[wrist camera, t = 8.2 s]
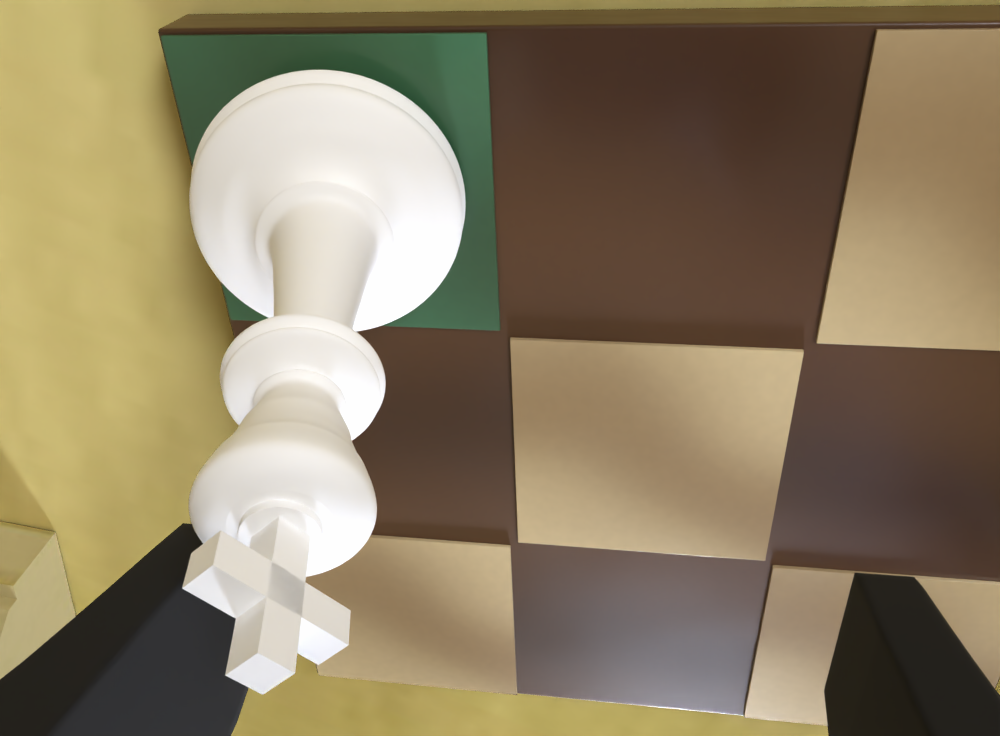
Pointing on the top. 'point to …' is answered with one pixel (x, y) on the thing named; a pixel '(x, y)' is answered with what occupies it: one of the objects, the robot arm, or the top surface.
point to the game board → (670, 342)
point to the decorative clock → (30, 592)
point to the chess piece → (307, 339)
